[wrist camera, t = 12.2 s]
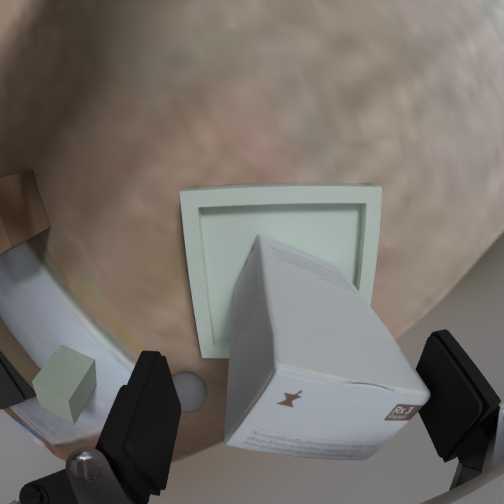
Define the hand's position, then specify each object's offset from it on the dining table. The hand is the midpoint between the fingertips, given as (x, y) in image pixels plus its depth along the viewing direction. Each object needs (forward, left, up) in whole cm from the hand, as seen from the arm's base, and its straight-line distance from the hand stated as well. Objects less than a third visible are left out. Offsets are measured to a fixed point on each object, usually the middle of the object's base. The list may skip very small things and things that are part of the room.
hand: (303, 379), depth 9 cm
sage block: (+11, -20, -11) cm, 25 cm away
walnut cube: (-5, -21, -11) cm, 24 cm away
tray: (+1, 0, -11) cm, 11 cm away
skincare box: (+1, +1, -10) cm, 10 cm away
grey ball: (+11, -8, -11) cm, 17 cm away
